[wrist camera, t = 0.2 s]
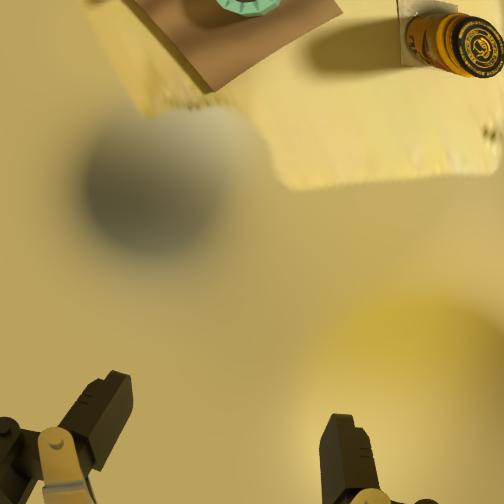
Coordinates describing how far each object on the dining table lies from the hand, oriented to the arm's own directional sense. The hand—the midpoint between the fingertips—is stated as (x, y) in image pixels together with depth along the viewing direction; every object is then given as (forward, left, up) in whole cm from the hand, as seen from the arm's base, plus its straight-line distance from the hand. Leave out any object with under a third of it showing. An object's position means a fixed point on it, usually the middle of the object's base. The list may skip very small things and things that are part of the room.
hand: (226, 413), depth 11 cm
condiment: (-3, +22, -31) cm, 38 cm away
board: (-21, +6, -31) cm, 37 cm away
